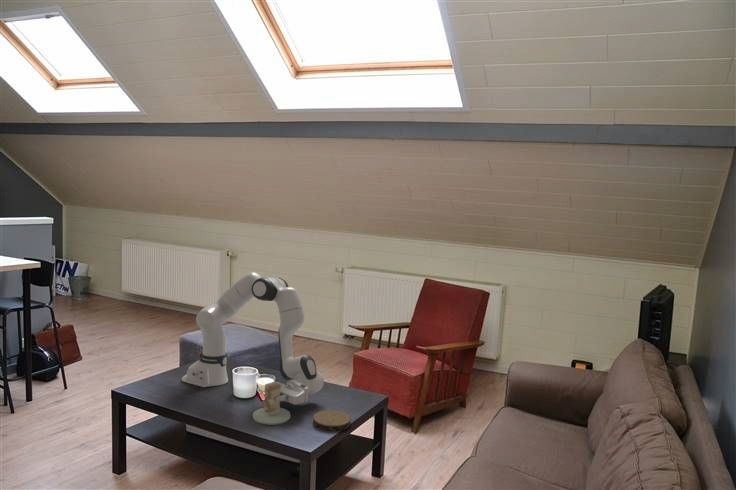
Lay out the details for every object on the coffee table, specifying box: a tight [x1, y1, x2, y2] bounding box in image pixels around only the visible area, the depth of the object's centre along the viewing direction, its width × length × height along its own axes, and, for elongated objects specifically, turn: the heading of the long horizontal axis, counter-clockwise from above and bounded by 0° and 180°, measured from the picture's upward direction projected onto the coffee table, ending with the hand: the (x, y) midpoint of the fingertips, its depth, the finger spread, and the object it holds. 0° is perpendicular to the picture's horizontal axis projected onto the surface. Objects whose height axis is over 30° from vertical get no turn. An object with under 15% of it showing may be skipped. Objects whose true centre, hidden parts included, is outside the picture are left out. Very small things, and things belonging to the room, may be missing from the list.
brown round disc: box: [312, 409, 352, 433], centre depth 253 cm, size 16×16×3 cm
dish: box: [252, 407, 291, 426], centre depth 256 cm, size 16×16×1 cm
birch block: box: [263, 381, 281, 414], centre depth 255 cm, size 5×5×12 cm
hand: (270, 397), depth 254 cm, fingers closed on birch block, 4 cm apart
